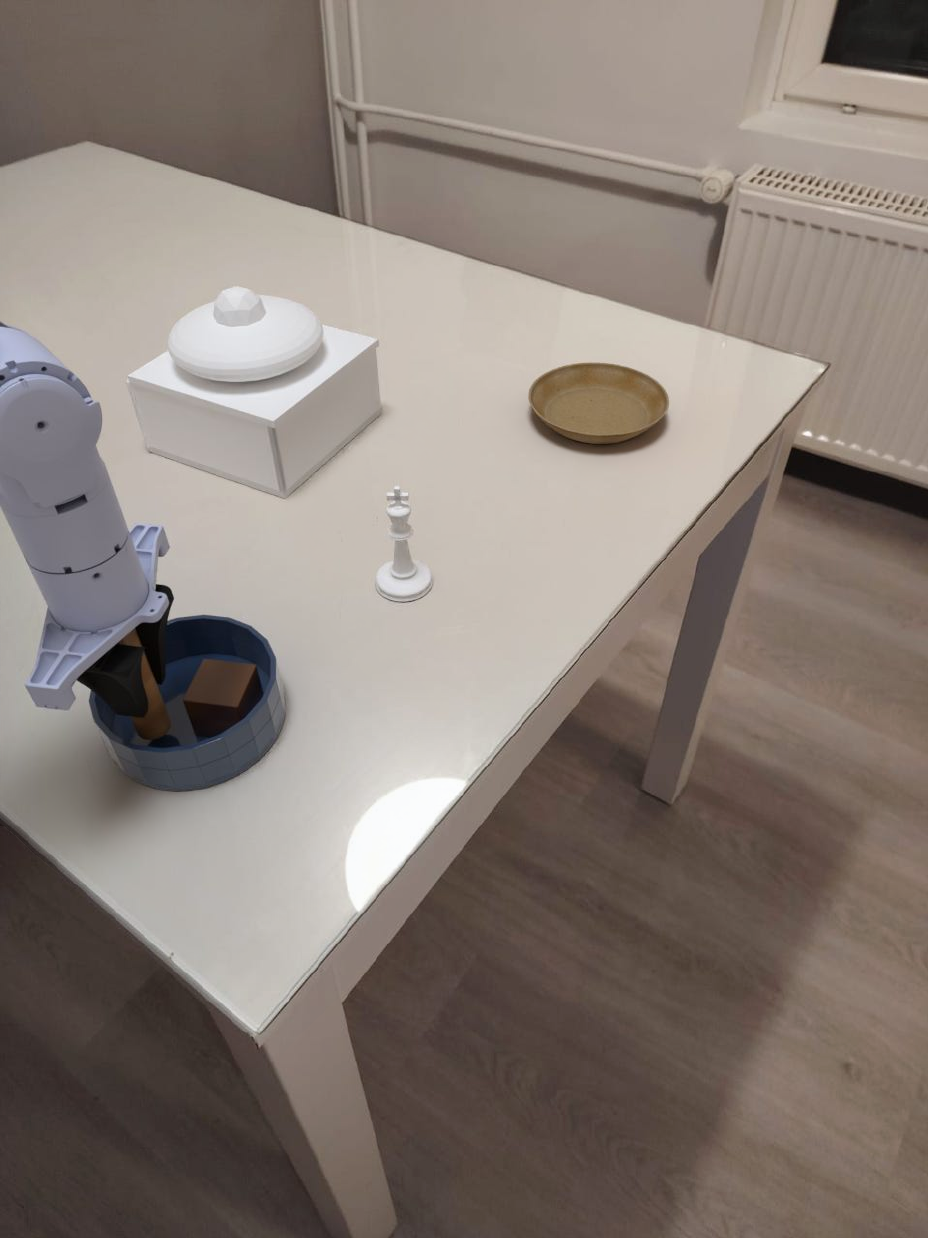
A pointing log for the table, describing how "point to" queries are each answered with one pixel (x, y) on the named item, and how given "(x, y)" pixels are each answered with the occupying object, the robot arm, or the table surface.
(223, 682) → the block
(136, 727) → the rod
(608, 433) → the plant saucer
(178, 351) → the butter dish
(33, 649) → the table surface
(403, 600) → the chess piece
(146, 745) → the bowl
